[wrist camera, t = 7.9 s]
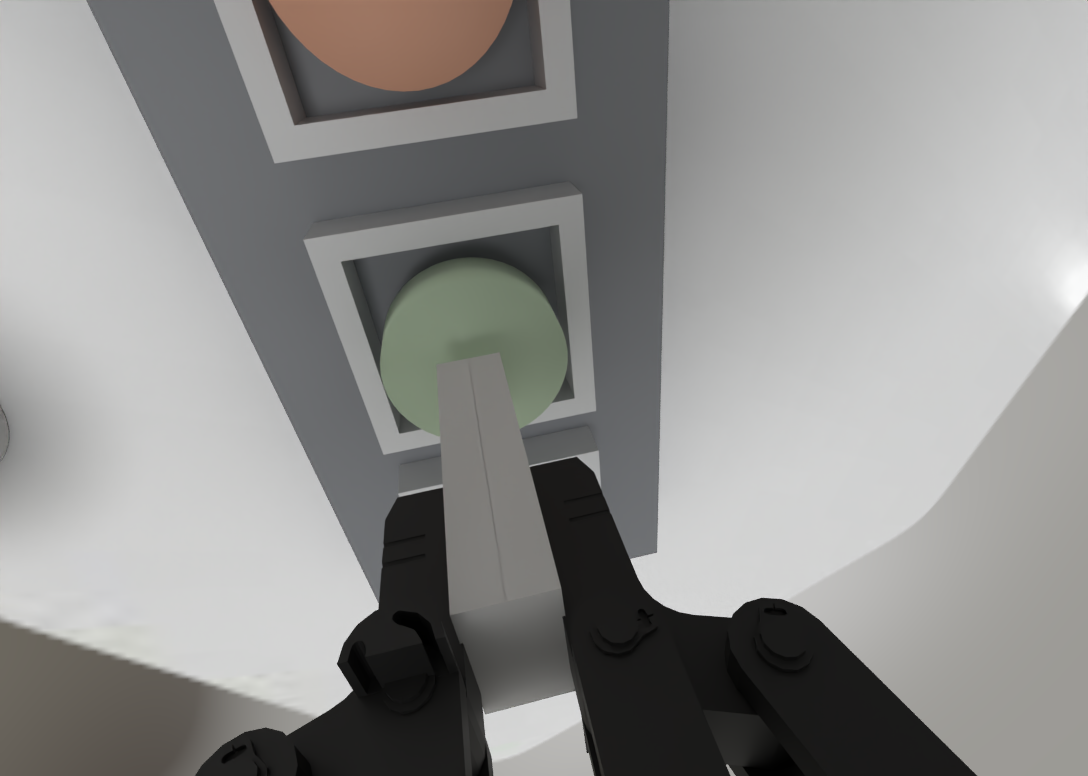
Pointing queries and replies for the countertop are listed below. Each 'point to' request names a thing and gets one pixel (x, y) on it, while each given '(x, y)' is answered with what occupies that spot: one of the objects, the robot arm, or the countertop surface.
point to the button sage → (471, 336)
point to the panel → (424, 222)
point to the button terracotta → (396, 37)
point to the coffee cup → (3, 434)
